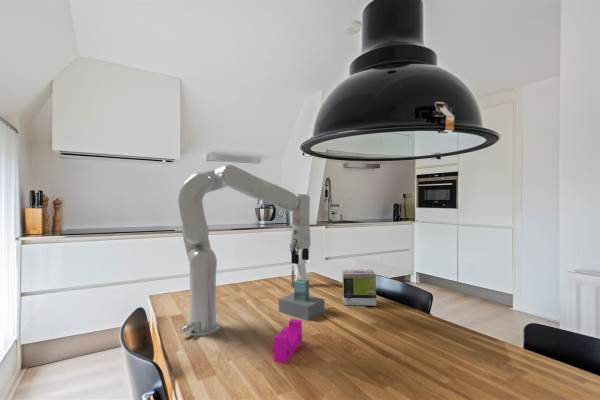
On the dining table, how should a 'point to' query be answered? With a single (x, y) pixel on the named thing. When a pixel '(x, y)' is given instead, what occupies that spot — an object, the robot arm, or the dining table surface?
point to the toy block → (287, 341)
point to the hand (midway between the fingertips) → (300, 261)
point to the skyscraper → (299, 269)
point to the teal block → (301, 290)
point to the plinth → (301, 307)
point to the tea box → (359, 287)
